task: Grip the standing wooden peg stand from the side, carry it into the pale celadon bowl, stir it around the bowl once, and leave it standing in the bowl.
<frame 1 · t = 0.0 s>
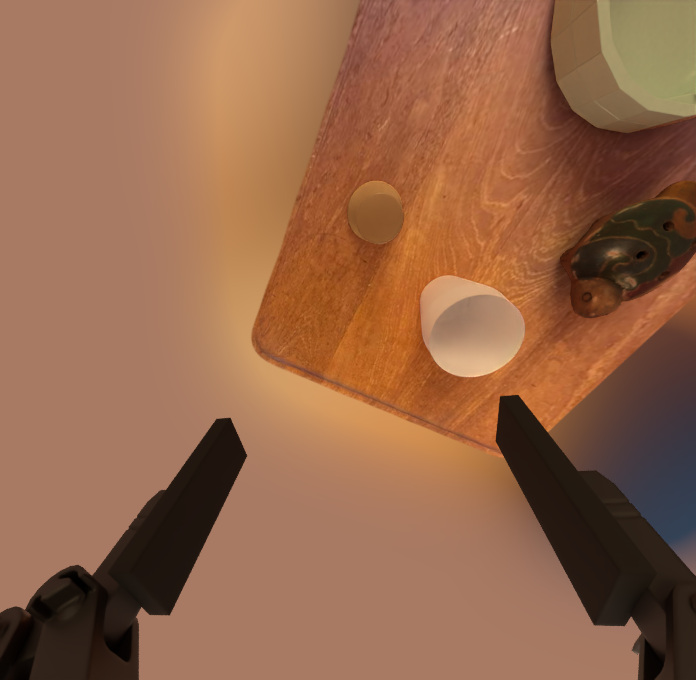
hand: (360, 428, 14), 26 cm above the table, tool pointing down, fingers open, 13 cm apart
wooden peg stand: (374, 212, 33), on the table
cup: (444, 299, 37), on the table
decorative turtle: (598, 247, 33), on the table
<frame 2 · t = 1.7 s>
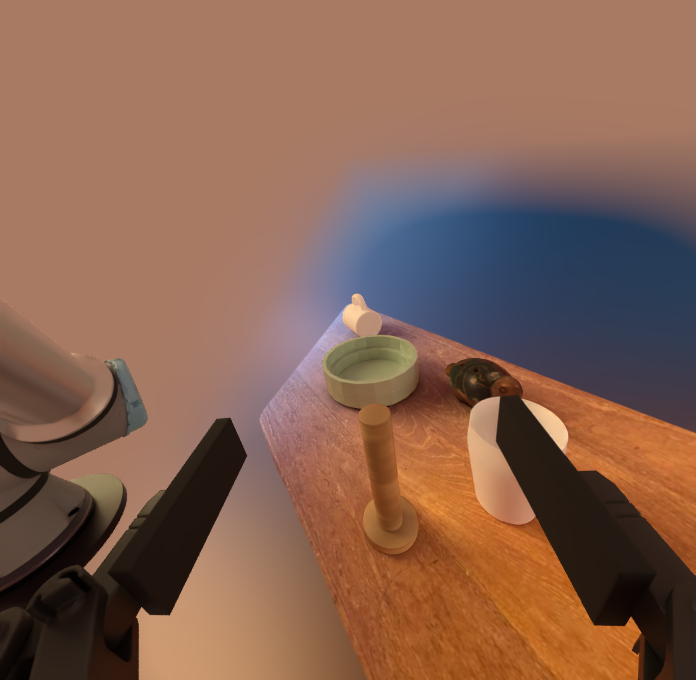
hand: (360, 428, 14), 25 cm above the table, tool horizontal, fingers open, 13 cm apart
wooden peg stand: (390, 524, 33), on the table
bowl: (372, 381, 60), on the table
cup: (504, 498, 34), on the table
mug: (363, 333, 83), on the table
decorative turtle: (478, 401, 50), on the table
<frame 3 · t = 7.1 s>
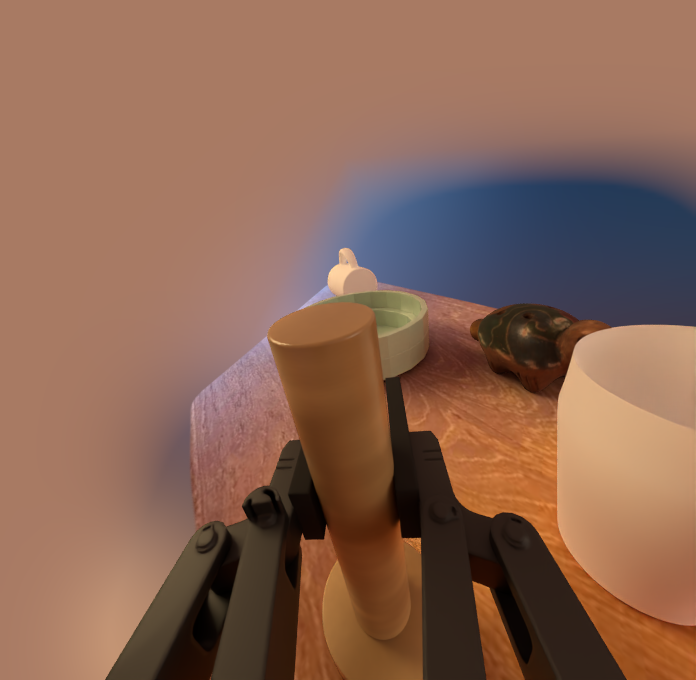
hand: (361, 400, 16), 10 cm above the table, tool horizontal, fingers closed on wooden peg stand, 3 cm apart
wooden peg stand: (384, 610, 15), on the table, touching gripper
bowl: (361, 351, 42), on the table
cup: (628, 549, 16), on the table
mug: (354, 301, 65), on the table
decorative turtle: (524, 371, 32), on the table
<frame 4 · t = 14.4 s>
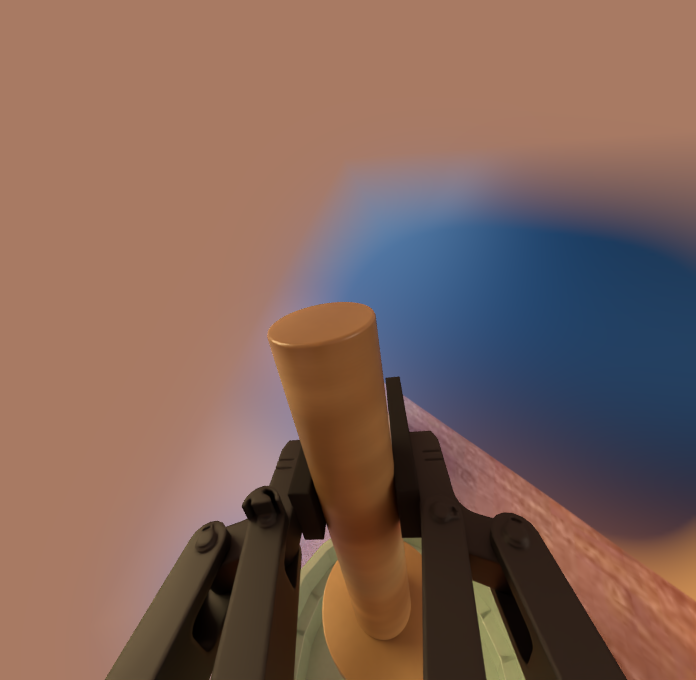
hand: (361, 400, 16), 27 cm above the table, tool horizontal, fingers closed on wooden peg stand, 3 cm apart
wooden peg stand: (384, 611, 15), point 17 cm above the table, touching gripper
when the fingers open (11 cm above the table, at t = 21.6 s): wooden peg stand stays where it is, resting on bowl.
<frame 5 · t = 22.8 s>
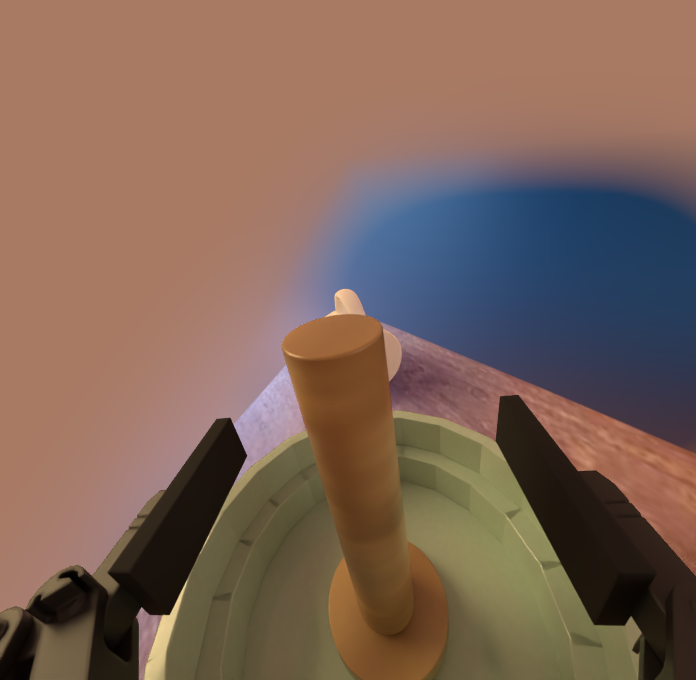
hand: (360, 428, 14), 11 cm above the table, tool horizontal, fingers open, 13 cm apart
wooden peg stand: (388, 608, 15), point 1 cm above the table, touching bowl
bowl: (388, 614, 16), on the table
mug: (360, 373, 39), on the table
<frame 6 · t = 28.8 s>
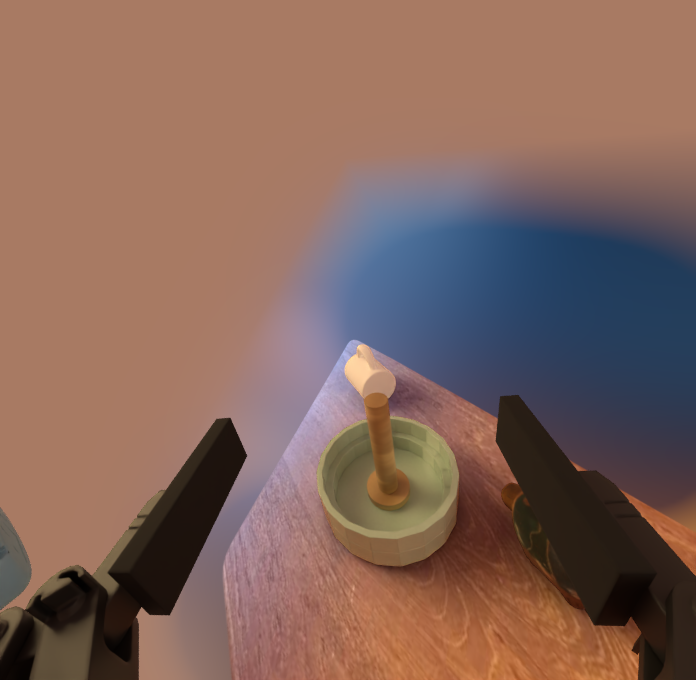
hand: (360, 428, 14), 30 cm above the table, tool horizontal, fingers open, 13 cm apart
wooden peg stand: (388, 489, 42), point 1 cm above the table, touching bowl
bowl: (388, 493, 42), on the table
mug: (371, 392, 65), on the table
decorative turtle: (559, 559, 32), on the table
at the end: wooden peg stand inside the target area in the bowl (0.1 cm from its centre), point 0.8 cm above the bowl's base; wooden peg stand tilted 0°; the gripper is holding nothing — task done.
